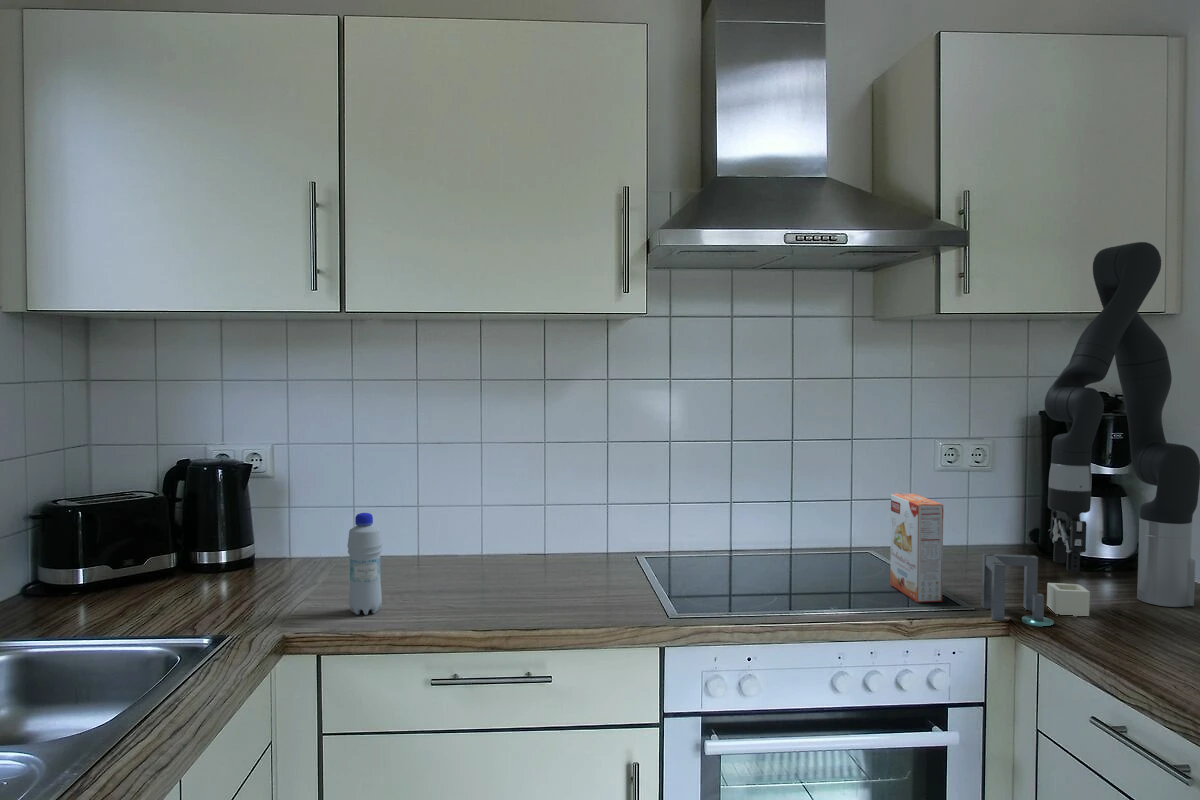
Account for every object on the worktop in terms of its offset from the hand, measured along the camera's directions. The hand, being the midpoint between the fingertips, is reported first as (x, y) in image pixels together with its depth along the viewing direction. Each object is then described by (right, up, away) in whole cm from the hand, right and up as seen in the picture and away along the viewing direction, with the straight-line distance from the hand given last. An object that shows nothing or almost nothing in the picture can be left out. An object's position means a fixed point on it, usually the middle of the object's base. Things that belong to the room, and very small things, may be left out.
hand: (1065, 567), depth 175 cm
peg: (-9, -9, -7) cm, 15 cm away
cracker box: (-25, -9, +14) cm, 30 cm away
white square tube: (0, -9, 0) cm, 9 cm away
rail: (-11, -9, -2) cm, 14 cm away
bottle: (-140, -9, 0) cm, 141 cm away
